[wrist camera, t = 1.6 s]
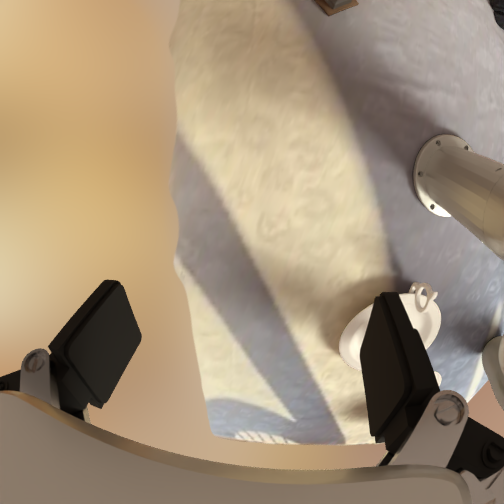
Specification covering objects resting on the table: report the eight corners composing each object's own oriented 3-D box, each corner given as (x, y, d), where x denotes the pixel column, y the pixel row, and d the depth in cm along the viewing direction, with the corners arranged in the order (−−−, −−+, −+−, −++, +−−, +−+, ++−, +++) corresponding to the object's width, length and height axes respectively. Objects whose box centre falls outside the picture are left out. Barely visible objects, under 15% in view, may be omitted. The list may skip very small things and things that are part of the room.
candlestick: (459, 267, 38) (536, 388, 14) (410, 360, 50) (438, 470, 26) (360, 254, 40) (416, 423, 15) (325, 359, 52) (330, 489, 27)
